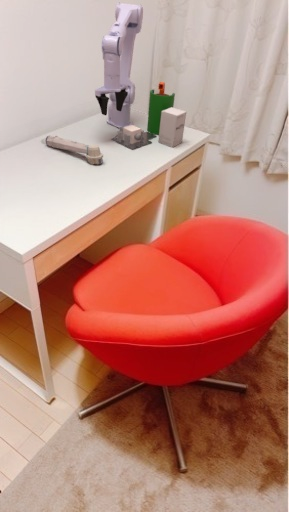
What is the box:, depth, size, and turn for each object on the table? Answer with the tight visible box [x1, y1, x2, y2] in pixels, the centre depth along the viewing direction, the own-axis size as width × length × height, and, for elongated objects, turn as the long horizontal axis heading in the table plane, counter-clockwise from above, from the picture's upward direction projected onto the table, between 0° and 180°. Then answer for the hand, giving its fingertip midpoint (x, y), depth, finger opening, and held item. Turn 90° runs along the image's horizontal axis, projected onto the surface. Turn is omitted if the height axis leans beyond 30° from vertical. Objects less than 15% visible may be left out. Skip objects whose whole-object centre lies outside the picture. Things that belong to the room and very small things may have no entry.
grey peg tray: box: [111, 126, 158, 151], centre depth 143 cm, size 12×17×4 cm
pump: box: [123, 124, 142, 144], centre depth 140 cm, size 7×5×5 cm
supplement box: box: [157, 106, 187, 148], centre depth 141 cm, size 7×7×13 cm
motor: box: [146, 81, 176, 136], centre depth 147 cm, size 10×9×20 cm
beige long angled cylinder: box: [45, 135, 104, 165], centre depth 129 cm, size 5×7×25 cm
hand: (111, 112), depth 137 cm, fingers open, 7 cm apart
